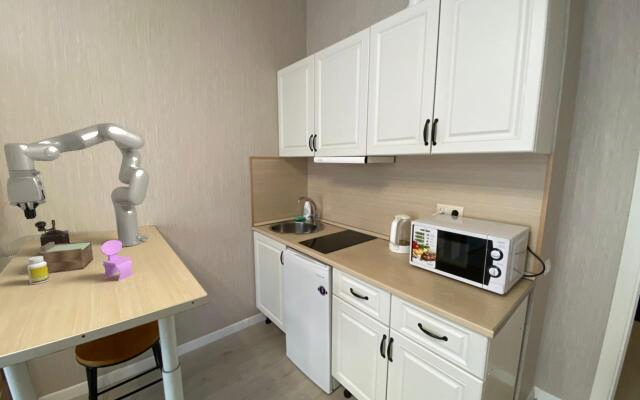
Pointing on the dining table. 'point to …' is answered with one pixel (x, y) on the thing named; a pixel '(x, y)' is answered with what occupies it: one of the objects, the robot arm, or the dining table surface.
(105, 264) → the toy chair
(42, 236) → the brown manual coffee grinder
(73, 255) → the box
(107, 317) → the dining table surface
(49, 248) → the lid
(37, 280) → the supplement bottle
